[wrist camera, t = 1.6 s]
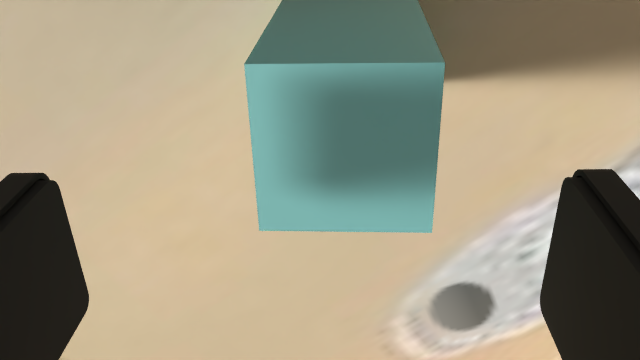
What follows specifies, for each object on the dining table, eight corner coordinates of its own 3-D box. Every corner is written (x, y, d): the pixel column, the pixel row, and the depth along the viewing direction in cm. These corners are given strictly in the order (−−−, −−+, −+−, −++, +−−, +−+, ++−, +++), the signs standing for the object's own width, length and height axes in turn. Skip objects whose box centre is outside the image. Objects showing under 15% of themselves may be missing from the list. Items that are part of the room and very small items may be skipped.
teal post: (407, -24, 24) (444, 62, 13) (402, 84, 26) (431, 232, 15) (295, -22, 24) (244, 64, 13) (300, 84, 26) (259, 230, 16)
